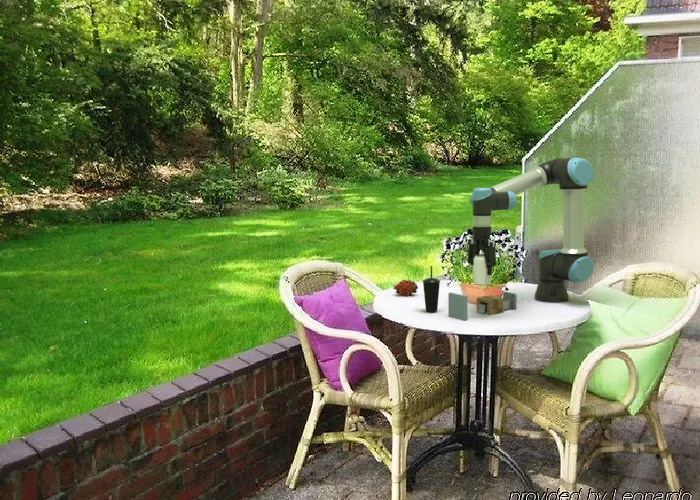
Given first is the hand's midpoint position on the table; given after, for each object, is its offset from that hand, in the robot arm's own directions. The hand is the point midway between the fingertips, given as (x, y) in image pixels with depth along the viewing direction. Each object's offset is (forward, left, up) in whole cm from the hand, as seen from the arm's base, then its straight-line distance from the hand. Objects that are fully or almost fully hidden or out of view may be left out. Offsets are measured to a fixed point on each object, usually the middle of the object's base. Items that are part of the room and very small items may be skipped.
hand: (481, 281), depth 288 cm
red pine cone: (-4, -56, -15) cm, 58 cm away
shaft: (-13, -5, -15) cm, 20 cm away
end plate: (+9, -5, -15) cm, 18 cm away
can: (0, 0, -1) cm, 1 cm away
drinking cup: (+9, -21, -15) cm, 27 cm away
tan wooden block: (-10, -5, -15) cm, 18 cm away
